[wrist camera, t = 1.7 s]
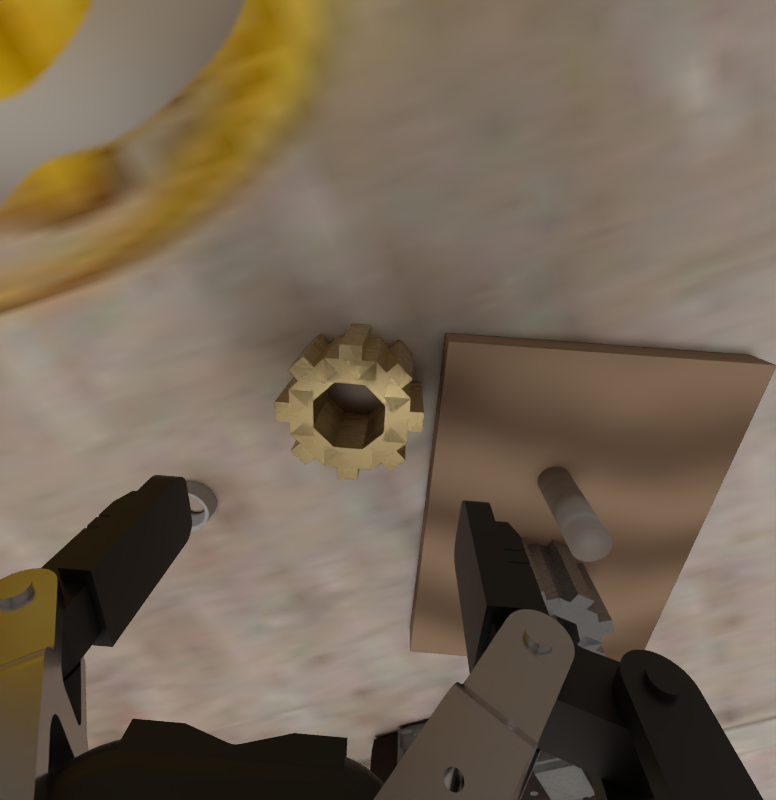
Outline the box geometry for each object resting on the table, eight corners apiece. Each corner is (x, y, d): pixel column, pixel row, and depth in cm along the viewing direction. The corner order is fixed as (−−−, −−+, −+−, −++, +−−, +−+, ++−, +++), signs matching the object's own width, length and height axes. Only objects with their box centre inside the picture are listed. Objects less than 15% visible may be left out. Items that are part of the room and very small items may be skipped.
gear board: (445, 332, 19) (461, 377, 14) (750, 355, 19) (891, 409, 13) (409, 629, 27) (410, 733, 22) (623, 647, 27) (678, 757, 21)
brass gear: (294, 319, 19) (271, 339, 16) (426, 329, 19) (430, 351, 16) (297, 436, 22) (278, 473, 18) (414, 445, 21) (416, 484, 18)
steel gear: (458, 551, 22) (467, 606, 19) (574, 525, 21) (604, 579, 18) (485, 627, 25) (497, 688, 21) (591, 607, 23) (621, 668, 20)
